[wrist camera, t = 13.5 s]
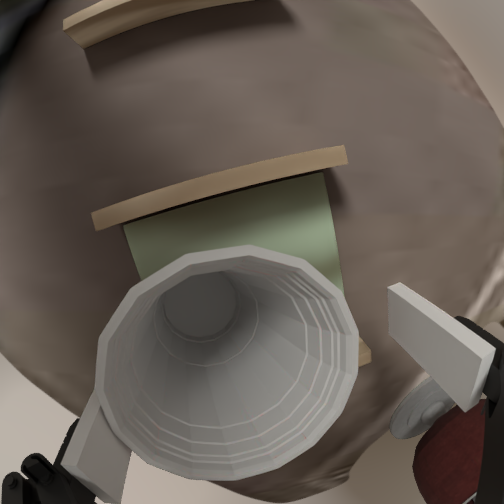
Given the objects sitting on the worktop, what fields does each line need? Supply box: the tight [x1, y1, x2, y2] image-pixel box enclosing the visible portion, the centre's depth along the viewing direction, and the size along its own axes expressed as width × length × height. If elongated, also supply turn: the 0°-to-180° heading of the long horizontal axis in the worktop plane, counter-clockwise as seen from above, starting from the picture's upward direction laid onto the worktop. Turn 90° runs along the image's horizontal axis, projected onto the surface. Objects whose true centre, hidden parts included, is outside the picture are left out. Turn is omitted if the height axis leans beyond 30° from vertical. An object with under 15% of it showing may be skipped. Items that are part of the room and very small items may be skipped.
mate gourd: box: [389, 376, 486, 504], centre depth 20 cm, size 16×14×20 cm
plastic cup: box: [95, 244, 359, 481], centre depth 15 cm, size 11×11×12 cm
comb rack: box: [63, 0, 371, 367], centre depth 18 cm, size 32×16×4 cm, turn 14°
